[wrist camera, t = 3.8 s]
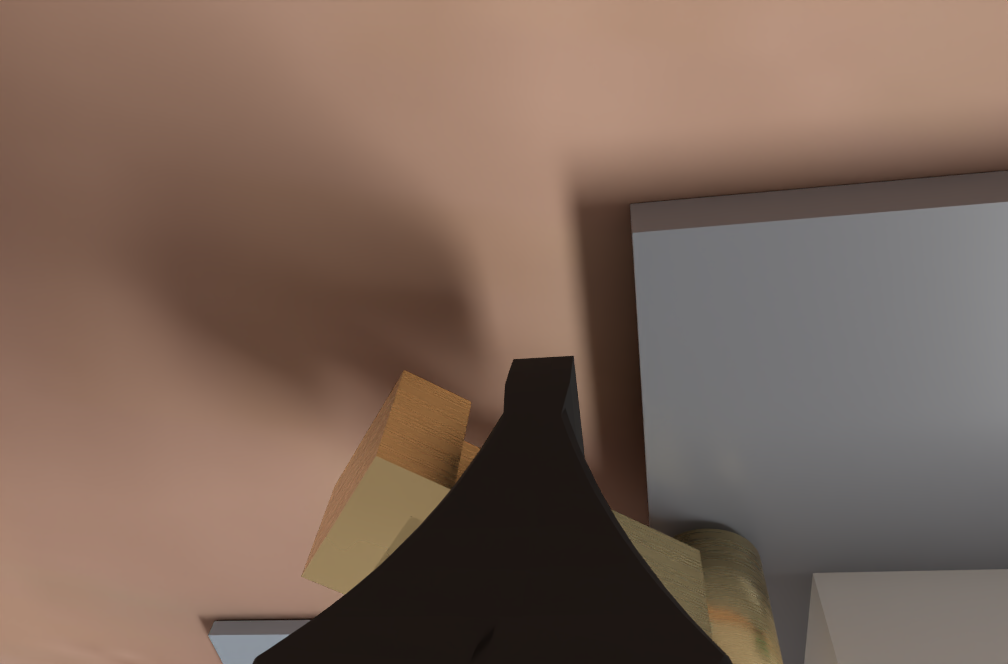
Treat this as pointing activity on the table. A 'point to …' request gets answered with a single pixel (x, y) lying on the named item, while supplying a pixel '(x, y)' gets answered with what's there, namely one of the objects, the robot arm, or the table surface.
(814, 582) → the white rectangular block
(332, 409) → the table surface
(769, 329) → the base plate
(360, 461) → the brass T-key
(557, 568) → the robot arm
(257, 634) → the mat
